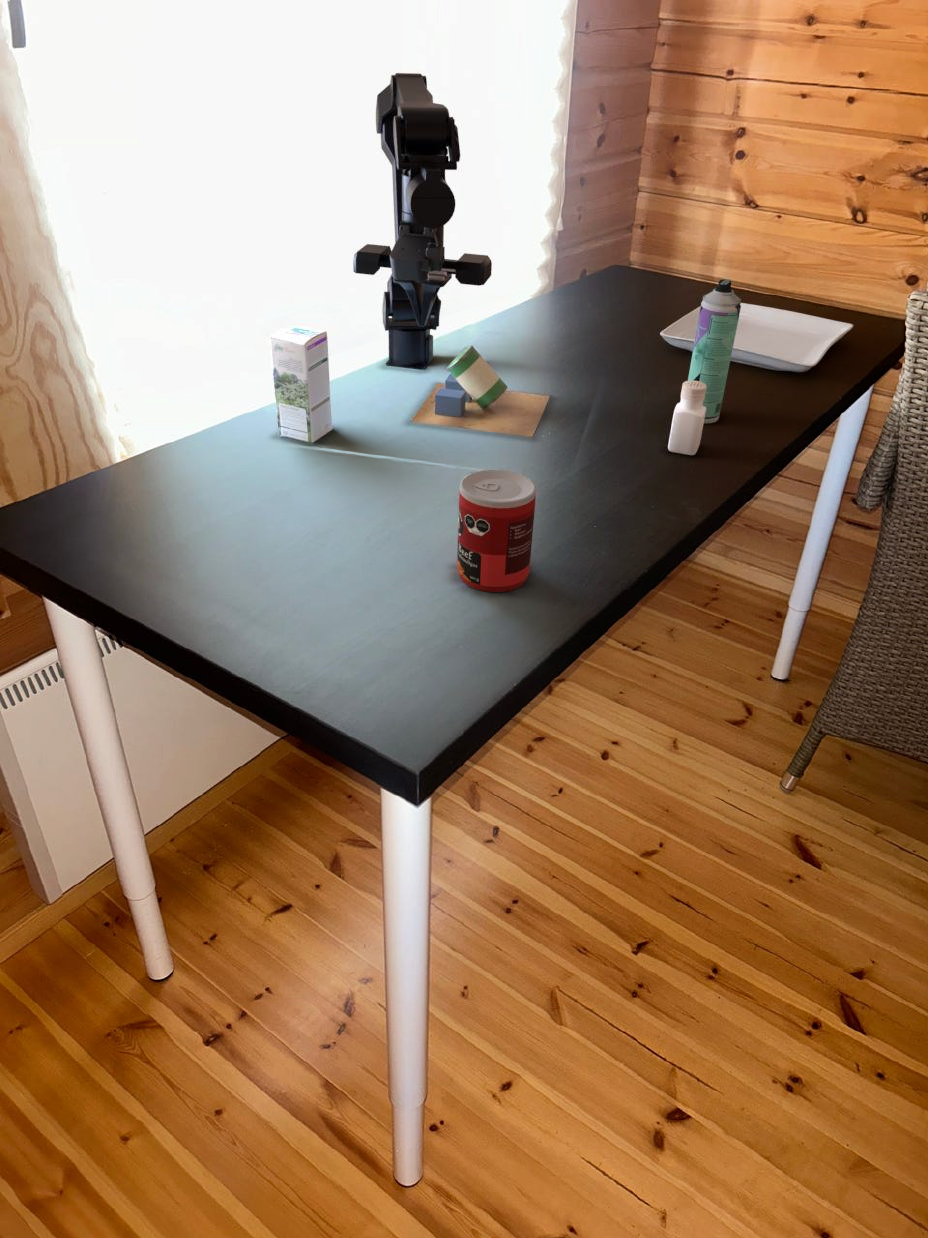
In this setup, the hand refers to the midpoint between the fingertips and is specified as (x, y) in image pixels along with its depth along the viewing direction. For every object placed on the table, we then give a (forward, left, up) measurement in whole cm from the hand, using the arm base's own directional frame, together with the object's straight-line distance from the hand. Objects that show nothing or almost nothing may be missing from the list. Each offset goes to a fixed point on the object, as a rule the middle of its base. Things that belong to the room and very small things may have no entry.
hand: (422, 325), depth 138 cm
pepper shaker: (+40, -5, -12) cm, 42 cm away
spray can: (+42, +8, -12) cm, 44 cm away
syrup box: (-12, -16, -12) cm, 24 cm away
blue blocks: (+5, 0, -11) cm, 13 cm away
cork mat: (+10, 0, -12) cm, 15 cm away
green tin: (+8, 0, -11) cm, 14 cm away
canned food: (+21, -45, -12) cm, 51 cm away
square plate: (+50, +43, -12) cm, 67 cm away
